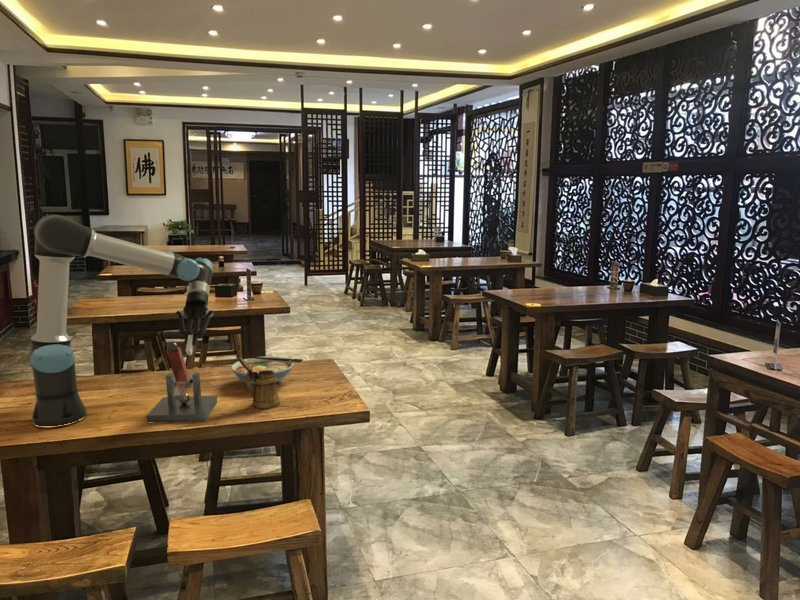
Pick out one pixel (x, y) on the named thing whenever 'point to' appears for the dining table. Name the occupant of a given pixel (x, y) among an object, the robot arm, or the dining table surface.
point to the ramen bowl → (265, 366)
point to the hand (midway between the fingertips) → (188, 353)
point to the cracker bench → (183, 404)
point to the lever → (178, 371)
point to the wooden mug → (261, 387)
